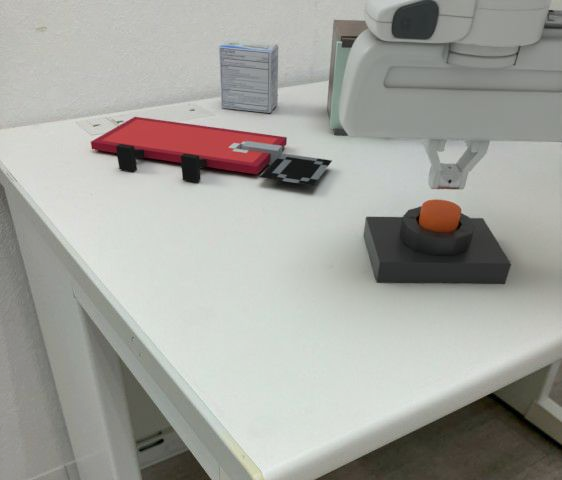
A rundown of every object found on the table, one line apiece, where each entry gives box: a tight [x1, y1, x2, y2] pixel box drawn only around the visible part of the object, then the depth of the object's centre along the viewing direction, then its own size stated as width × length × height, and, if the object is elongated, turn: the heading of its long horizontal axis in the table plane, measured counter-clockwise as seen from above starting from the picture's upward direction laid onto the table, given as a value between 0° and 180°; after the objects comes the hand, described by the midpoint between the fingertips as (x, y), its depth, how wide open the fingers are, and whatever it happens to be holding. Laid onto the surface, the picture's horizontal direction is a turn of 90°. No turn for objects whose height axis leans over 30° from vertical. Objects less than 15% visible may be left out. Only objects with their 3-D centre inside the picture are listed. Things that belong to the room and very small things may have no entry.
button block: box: [363, 205, 512, 285], centre depth 56 cm, size 12×9×4 cm
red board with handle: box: [90, 116, 333, 186], centre depth 74 cm, size 30×3×15 cm
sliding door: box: [329, 41, 351, 130], centre depth 79 cm, size 10×3×11 cm, turn 92°
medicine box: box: [218, 39, 279, 114], centre depth 88 cm, size 8×4×9 cm, turn 76°
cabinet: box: [326, 19, 368, 136], centre depth 84 cm, size 18×12×12 cm, turn 92°
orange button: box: [419, 198, 462, 232], centre depth 55 cm, size 4×4×2 cm
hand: (445, 187), depth 53 cm, fingers closed
